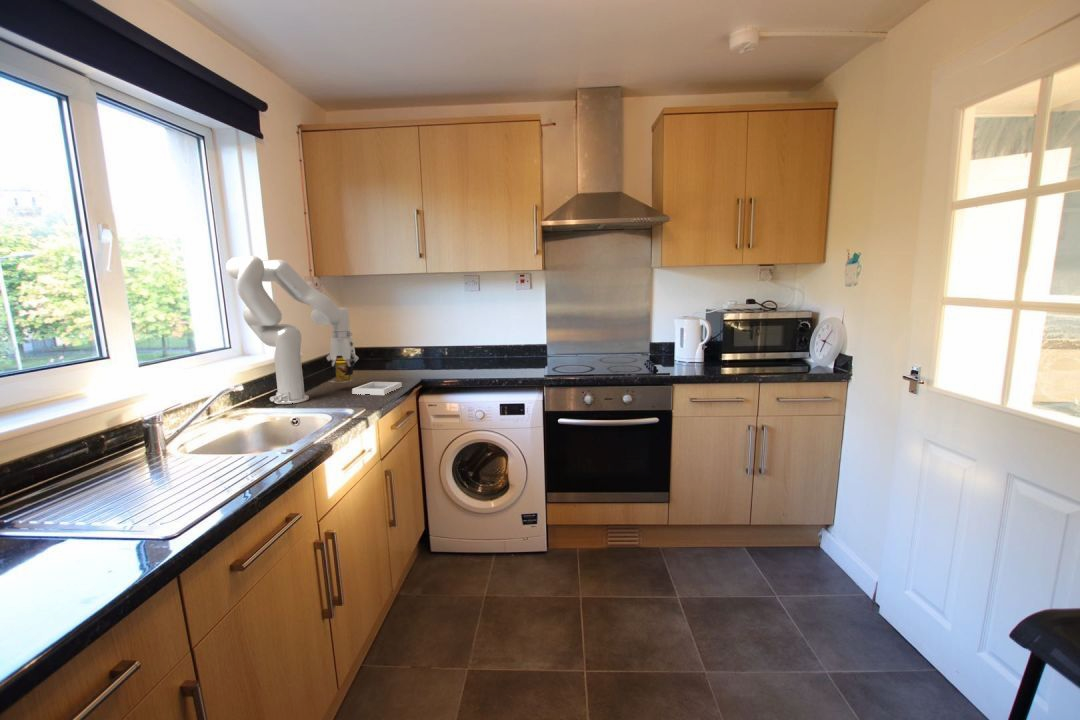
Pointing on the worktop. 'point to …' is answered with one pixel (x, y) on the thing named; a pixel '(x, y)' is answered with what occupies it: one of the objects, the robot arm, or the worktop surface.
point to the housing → (376, 388)
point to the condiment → (341, 370)
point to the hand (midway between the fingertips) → (343, 374)
